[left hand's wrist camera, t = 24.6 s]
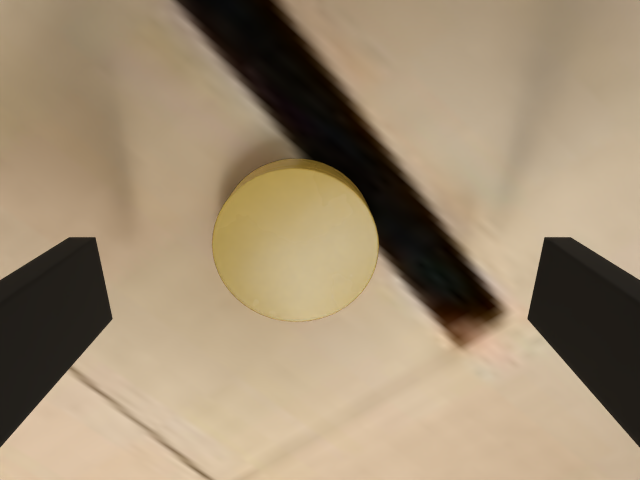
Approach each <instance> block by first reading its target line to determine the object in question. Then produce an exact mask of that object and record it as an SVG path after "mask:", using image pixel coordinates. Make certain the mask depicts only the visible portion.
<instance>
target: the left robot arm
mask: <svg viewBox="0 0 640 480" xmlns="http://www.w3.org/2000/svg"><path fill="white" fill-rule="evenodd" d="M111 320H112V314H111V309H110V304H109V300H108V295H107V290H106V285H105V281H104V276H103V271H102V266H101V262H100V257H99V252H98V247H97V243H96V238H95V237H69V238H67V239H66V240H64V241H63V242H61V243H59V244H58V245H56V246H55V247H53V248H51V249H50V250H48V251H46V252H45V253H43V254H42V255H40V256H38V257H37V258H35V259H34V260H32V261H30V262H29V263H27V264H26V265H24V266H22V267H21V268H19V269H18V270H16V271H14V272H13V273H11V274H9V275H8V276H6V277H5V278H3V279H1V280H0V447H1V446H2V445H3V444H4V443H5V441H6V440H7V439H8V438H9V437H10V436H11V435H12V433H13V432H14V431H15V430H16V429H17V428H18V427H19V425H20V424H21V423H22V422H23V421H24V420H25V419H26V417H27V416H28V415H29V414H30V413H31V412H32V410H33V409H34V408H35V407H36V406H37V405H38V404H39V402H40V401H41V400H42V399H43V398H44V397H45V396H46V394H47V393H48V392H49V391H50V390H51V389H52V388H53V386H54V385H55V384H56V383H57V382H58V381H59V380H60V378H61V377H62V376H63V375H64V374H65V373H66V372H67V370H68V369H69V368H70V367H71V366H72V365H73V364H74V362H75V361H76V360H77V359H78V358H79V357H80V356H81V354H82V353H83V352H84V351H85V350H86V349H87V348H88V346H89V345H90V344H91V343H92V342H93V341H94V340H95V338H96V337H97V336H98V335H99V334H100V333H101V332H102V330H103V329H104V328H105V327H106V326H107V325H108V324H109V322H110V321H111ZM528 320H529V321H530V322H531V324H532V325H533V326H534V327H535V328H536V329H537V330H538V332H539V333H540V334H541V335H542V336H543V337H544V338H545V340H546V341H547V342H548V343H549V344H550V345H551V346H552V348H553V349H554V350H555V351H556V352H557V353H558V354H559V356H560V357H561V358H562V359H563V360H564V361H565V362H566V364H567V365H568V366H569V367H570V368H571V369H572V370H573V372H574V373H575V374H576V375H577V376H578V377H579V378H580V380H581V381H582V382H583V383H584V384H585V385H586V386H587V388H588V389H589V390H590V391H591V392H592V393H593V394H594V396H595V397H596V398H597V399H598V400H599V401H600V402H601V404H602V405H603V406H604V407H605V408H606V409H607V410H608V412H609V413H610V414H611V415H612V416H613V417H614V419H615V420H616V421H617V422H618V423H619V424H620V425H621V427H622V428H623V429H624V430H625V431H626V432H627V433H628V435H629V436H630V437H631V438H632V439H633V440H634V441H635V443H636V444H637V445H638V446H639V447H640V280H639V279H637V278H635V277H634V276H632V275H631V274H629V273H627V272H626V271H624V270H622V269H621V268H619V267H618V266H616V265H614V264H613V263H611V262H610V261H608V260H606V259H605V258H603V257H602V256H600V255H598V254H597V253H595V252H594V251H592V250H590V249H589V248H587V247H585V246H584V245H582V244H581V243H579V242H577V241H576V240H574V239H573V238H571V237H545V238H544V243H543V247H542V252H541V257H540V262H539V266H538V271H537V276H536V281H535V285H534V290H533V295H532V300H531V304H530V309H529V314H528Z"/></svg>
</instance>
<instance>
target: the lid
mask: <svg viewBox="0 0 640 480" xmlns="http://www.w3.org/2000/svg"><path fill="white" fill-rule="evenodd" d="M212 249H213V257H214V261H215V265H216V268H217V270H218V273H219V275H220V277H221V279H222V281H223V283H224V284H225V285H226V287H227V288H228V290H229V291H230V292H231V293H232V294H233V295H234V296H235V297H236V298H237V299H238V300H239V301H240V302H241V303H243V304H244V305H245V306H247V307H248V308H250V309H251V310H253V311H255V312H257V313H259V314H261V315H264V316H267V317H269V318H273V319H277V320H282V321H290V322H303V321H312V320H316V319H320V318H324V317H326V316H329V315H332V314H334V313H336V312H338V311H340V310H341V309H343V308H344V307H346V306H348V305H349V304H350V303H351V302H352V301H354V300H355V299H356V298H357V297H358V296H359V295H360V293H361V292H362V291H363V290H364V288H365V287H366V286H367V284H368V283H369V281H370V279H371V277H372V275H373V272H374V270H375V267H376V263H377V259H378V250H379V241H378V233H377V228H376V225H375V222H374V219H373V216H372V214H371V212H370V210H369V207H368V205H367V203H366V201H365V199H364V197H363V195H362V194H361V192H360V191H359V189H358V188H357V187H356V185H355V184H354V183H353V182H352V181H351V180H350V179H349V178H347V177H346V176H345V175H344V174H342V173H341V172H340V171H338V170H336V169H335V168H333V167H331V166H328V165H326V164H324V163H321V162H317V161H314V160H307V159H285V160H279V161H275V162H271V163H269V164H266V165H264V166H262V167H260V168H258V169H256V170H255V171H253V172H252V173H250V174H249V175H248V176H246V177H245V178H244V179H243V180H242V181H241V182H240V183H239V184H238V185H237V187H236V188H235V189H234V191H233V192H232V194H231V195H230V196H229V198H228V199H227V201H226V202H225V204H224V205H223V207H222V209H221V211H220V213H219V214H218V217H217V220H216V223H215V226H214V231H213V239H212Z"/></svg>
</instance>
